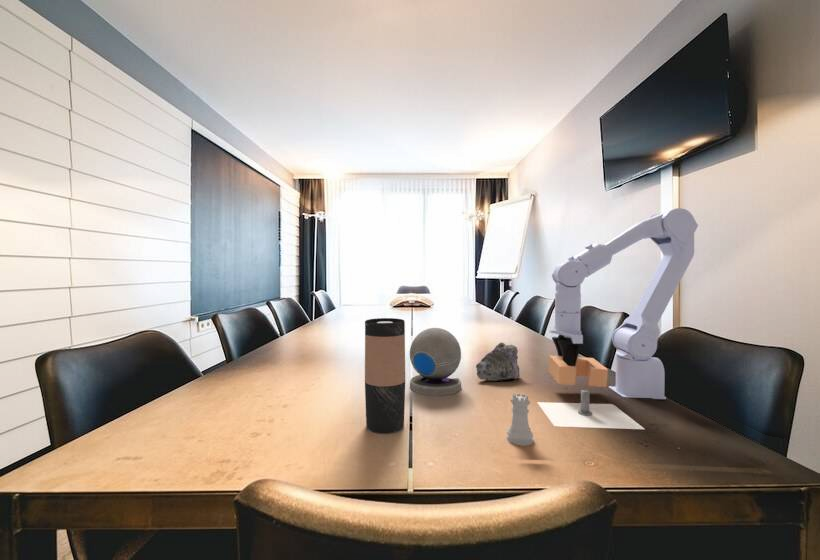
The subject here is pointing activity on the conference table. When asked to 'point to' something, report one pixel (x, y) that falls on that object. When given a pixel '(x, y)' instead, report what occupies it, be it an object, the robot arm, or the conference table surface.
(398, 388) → the travel mug
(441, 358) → the webcam
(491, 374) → the mineral rock
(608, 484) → the conference table surface
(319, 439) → the conference table surface
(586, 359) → the c link
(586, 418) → the stand
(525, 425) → the rook chess piece
